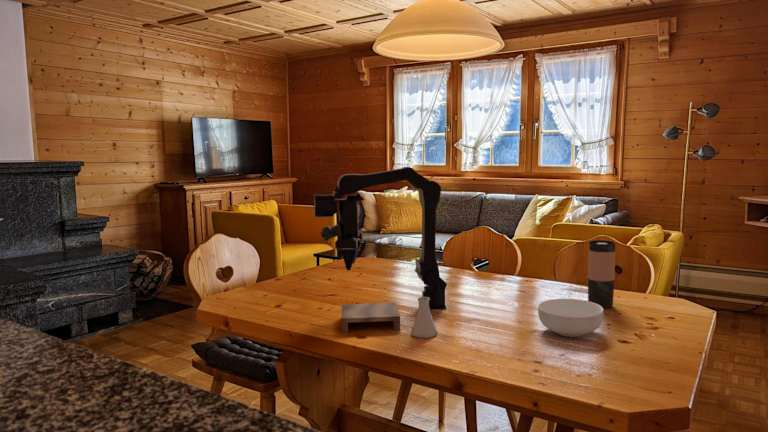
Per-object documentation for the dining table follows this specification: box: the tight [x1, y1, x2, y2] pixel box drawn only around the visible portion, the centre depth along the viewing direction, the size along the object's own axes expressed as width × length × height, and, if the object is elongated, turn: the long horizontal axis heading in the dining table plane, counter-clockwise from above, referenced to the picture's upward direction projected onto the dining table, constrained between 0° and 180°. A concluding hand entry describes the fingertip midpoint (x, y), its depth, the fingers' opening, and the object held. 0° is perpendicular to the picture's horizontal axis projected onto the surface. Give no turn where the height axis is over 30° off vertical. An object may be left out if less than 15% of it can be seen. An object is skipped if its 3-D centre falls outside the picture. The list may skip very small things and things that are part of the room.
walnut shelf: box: [341, 302, 401, 334], centre depth 163 cm, size 16×14×4 cm
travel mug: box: [587, 239, 616, 310], centre depth 176 cm, size 8×8×20 cm
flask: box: [410, 296, 438, 339], centre depth 153 cm, size 7×7×10 cm
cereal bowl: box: [537, 298, 605, 338], centre depth 153 cm, size 17×17×7 cm
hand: (350, 266), depth 174 cm, fingers open, 9 cm apart
